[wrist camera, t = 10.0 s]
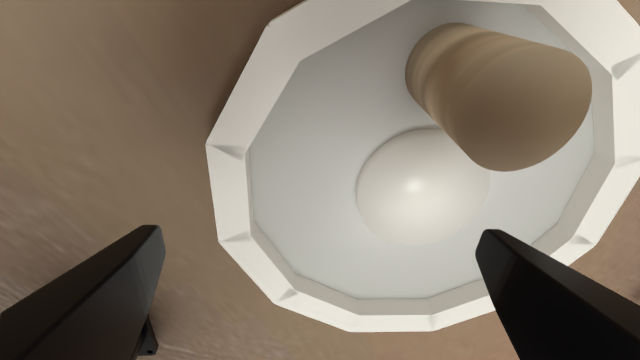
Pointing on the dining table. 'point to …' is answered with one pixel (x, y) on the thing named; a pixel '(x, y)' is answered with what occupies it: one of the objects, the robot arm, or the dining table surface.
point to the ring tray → (406, 161)
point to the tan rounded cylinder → (499, 93)
